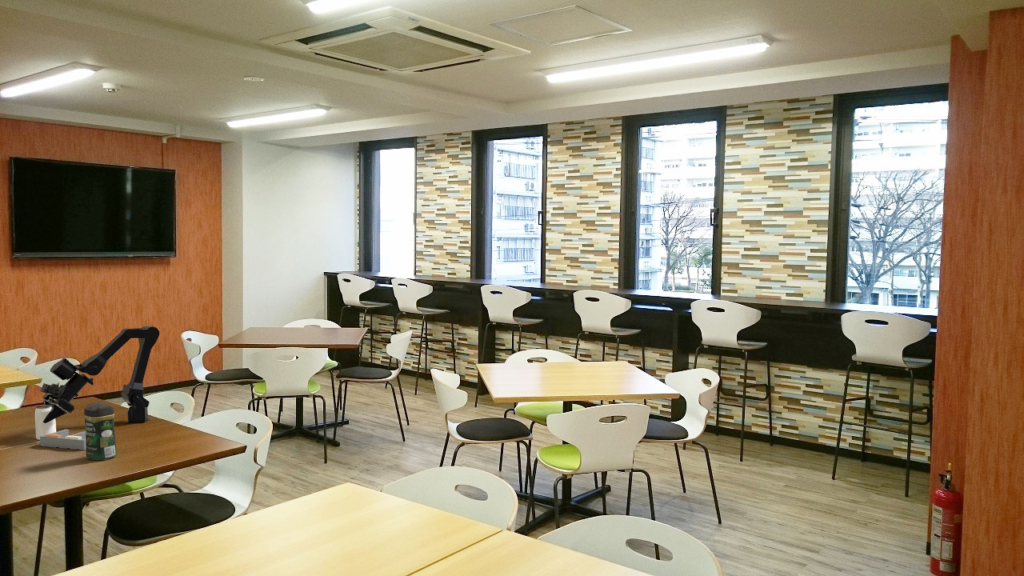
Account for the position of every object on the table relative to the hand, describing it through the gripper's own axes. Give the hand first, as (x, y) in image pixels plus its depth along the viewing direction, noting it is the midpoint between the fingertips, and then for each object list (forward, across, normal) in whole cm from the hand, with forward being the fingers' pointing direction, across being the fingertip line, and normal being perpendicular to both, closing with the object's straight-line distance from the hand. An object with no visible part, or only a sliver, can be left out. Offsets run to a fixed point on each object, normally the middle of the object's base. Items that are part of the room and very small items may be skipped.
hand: (41, 421), depth 277 cm
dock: (+1, +18, +8) cm, 20 cm away
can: (+4, 0, +6) cm, 7 cm away
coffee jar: (+1, +44, +9) cm, 45 cm away
